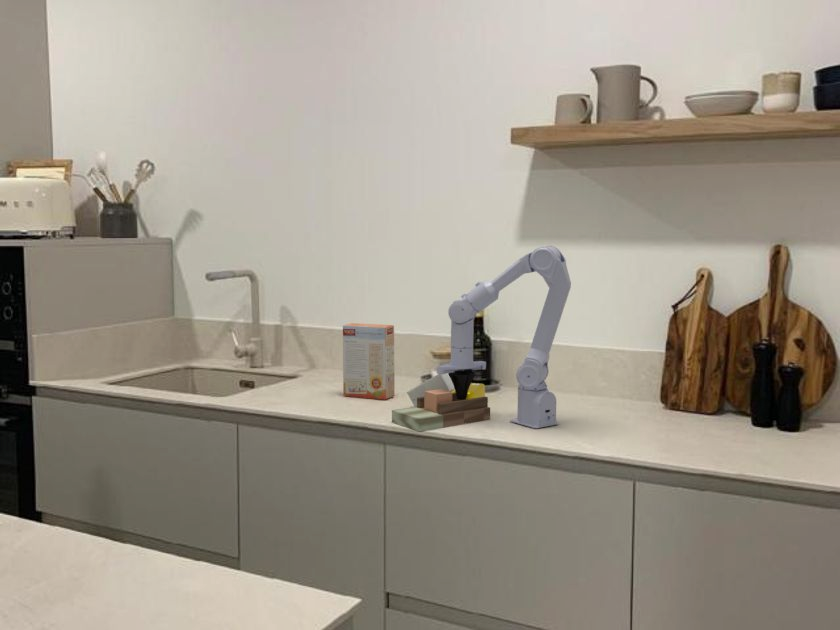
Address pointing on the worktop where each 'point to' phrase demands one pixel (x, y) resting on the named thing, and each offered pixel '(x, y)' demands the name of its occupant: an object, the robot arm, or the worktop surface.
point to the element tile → (475, 391)
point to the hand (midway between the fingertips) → (461, 399)
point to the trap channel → (443, 413)
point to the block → (436, 399)
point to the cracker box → (368, 361)
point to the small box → (431, 387)
